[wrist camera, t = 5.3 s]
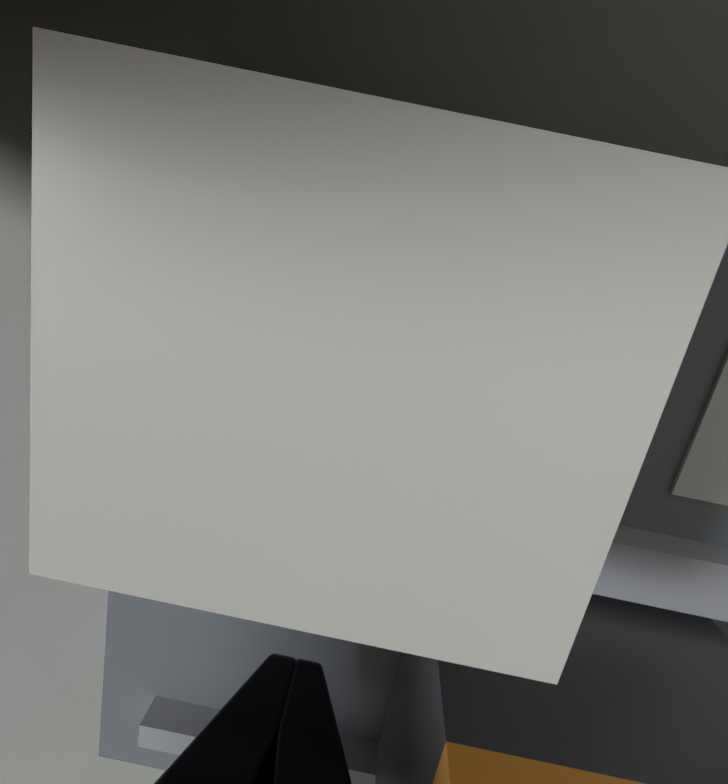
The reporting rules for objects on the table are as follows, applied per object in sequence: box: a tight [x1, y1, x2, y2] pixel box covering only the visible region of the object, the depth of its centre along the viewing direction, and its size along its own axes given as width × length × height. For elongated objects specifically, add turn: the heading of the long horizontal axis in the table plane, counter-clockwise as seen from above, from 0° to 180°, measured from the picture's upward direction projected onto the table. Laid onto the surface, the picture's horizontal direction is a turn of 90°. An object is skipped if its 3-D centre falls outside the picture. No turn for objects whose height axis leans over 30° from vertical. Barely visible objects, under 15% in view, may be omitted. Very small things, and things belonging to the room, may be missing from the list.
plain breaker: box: [29, 27, 728, 685], centre depth 5 cm, size 4×4×3 cm
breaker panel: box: [99, 244, 728, 784], centre depth 8 cm, size 13×12×2 cm
